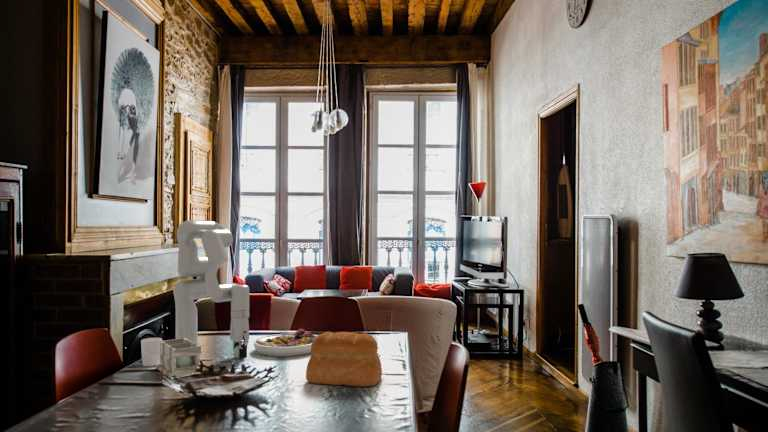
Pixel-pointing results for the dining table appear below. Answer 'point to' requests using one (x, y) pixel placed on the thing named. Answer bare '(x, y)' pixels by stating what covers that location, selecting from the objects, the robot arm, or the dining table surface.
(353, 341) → the bread
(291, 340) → the bowl
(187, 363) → the sage ball
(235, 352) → the sage ball
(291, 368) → the dining table surface
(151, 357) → the white cup
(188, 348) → the grey divided rectangular box
